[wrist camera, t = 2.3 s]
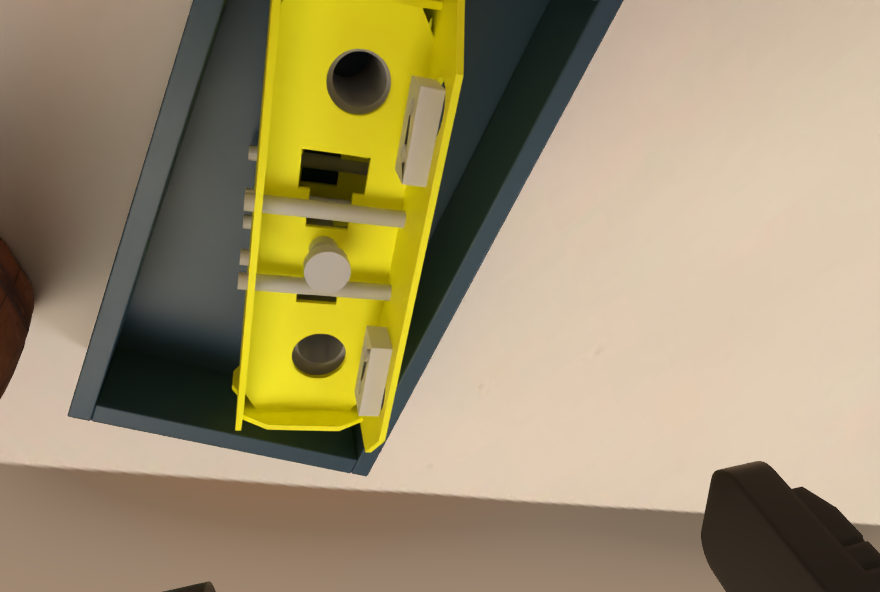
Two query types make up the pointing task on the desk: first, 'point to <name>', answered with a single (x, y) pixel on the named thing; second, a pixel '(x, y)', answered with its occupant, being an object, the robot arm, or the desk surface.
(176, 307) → the bin
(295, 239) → the yellow toy chassis
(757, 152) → the desk surface
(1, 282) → the wooden figurine
